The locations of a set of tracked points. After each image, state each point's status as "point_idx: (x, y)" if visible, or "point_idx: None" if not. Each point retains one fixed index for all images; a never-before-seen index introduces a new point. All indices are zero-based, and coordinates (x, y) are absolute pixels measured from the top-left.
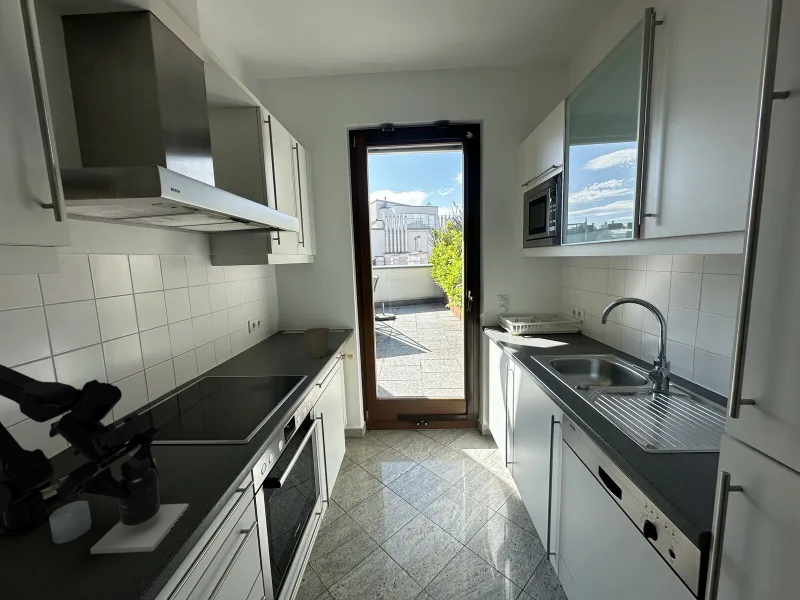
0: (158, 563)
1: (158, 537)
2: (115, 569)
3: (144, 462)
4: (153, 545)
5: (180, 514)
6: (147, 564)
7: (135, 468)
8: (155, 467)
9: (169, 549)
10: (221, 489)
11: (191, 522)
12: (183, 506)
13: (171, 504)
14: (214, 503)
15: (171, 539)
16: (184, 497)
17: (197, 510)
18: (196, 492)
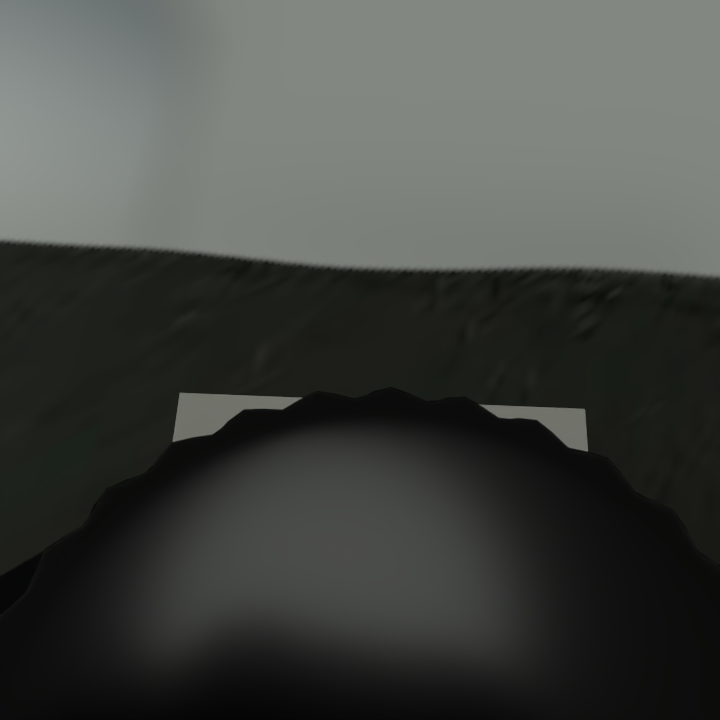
0: (656, 331)
1: (507, 416)
2: None
3: (393, 450)
4: (572, 409)
5: (281, 400)
6: (666, 390)
7: (706, 559)
8: (27, 570)
9: (557, 326)
10: (31, 269)
11: (342, 312)
12: (206, 414)
13: None
14: (179, 252)
15: (480, 358)
16: (56, 500)
17: (230, 329)
18: (15, 434)
